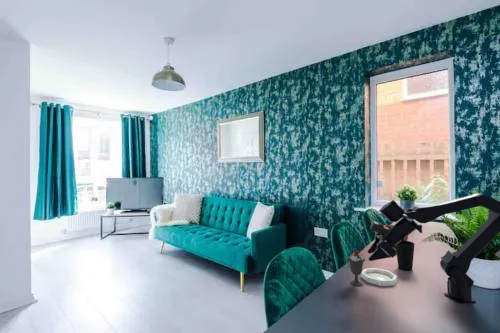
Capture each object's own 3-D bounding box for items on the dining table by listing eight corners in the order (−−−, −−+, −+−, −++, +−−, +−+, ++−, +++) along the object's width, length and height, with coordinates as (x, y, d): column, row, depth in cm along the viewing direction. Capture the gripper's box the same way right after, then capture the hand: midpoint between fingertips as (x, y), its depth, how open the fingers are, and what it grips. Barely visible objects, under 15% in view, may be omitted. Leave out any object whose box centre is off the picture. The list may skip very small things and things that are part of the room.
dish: (403, 284, 105) (403, 279, 105) (373, 286, 103) (373, 281, 103) (384, 272, 118) (383, 267, 118) (356, 273, 116) (356, 269, 116)
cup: (417, 272, 117) (417, 245, 117) (399, 271, 118) (398, 244, 118) (410, 265, 124) (410, 240, 124) (393, 264, 126) (392, 239, 126)
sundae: (354, 288, 102) (354, 249, 102) (344, 281, 109) (343, 245, 109) (369, 286, 104) (368, 248, 104) (358, 279, 110) (357, 243, 110)
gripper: (381, 211, 111) (353, 234, 115) (385, 219, 94) (352, 247, 98) (402, 231, 108) (373, 255, 112) (411, 243, 91) (376, 271, 95)
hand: (368, 256), depth 105 cm, fingers open, 9 cm apart
